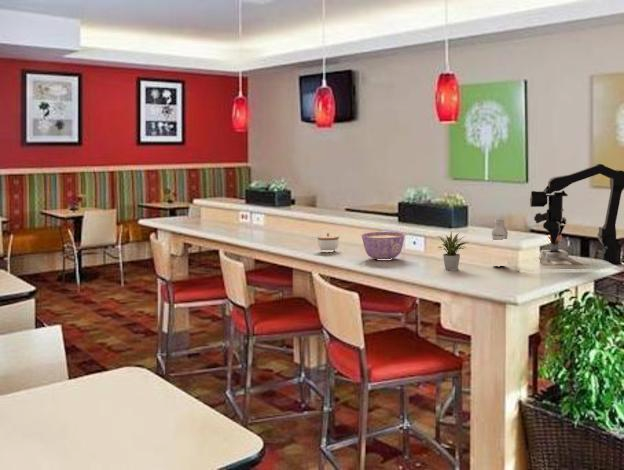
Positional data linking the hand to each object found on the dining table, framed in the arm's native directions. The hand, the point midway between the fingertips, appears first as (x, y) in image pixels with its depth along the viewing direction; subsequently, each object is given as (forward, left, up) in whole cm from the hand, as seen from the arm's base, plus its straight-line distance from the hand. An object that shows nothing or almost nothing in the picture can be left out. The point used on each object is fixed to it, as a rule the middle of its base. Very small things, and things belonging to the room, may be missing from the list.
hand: (554, 242), depth 300 cm
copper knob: (0, 0, -5) cm, 5 cm away
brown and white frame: (0, +4, -9) cm, 10 cm away
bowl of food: (+73, -17, -9) cm, 75 cm away
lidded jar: (+99, -42, -9) cm, 108 cm away
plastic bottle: (+25, +7, -9) cm, 27 cm away
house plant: (+46, +11, -9) cm, 48 cm away
